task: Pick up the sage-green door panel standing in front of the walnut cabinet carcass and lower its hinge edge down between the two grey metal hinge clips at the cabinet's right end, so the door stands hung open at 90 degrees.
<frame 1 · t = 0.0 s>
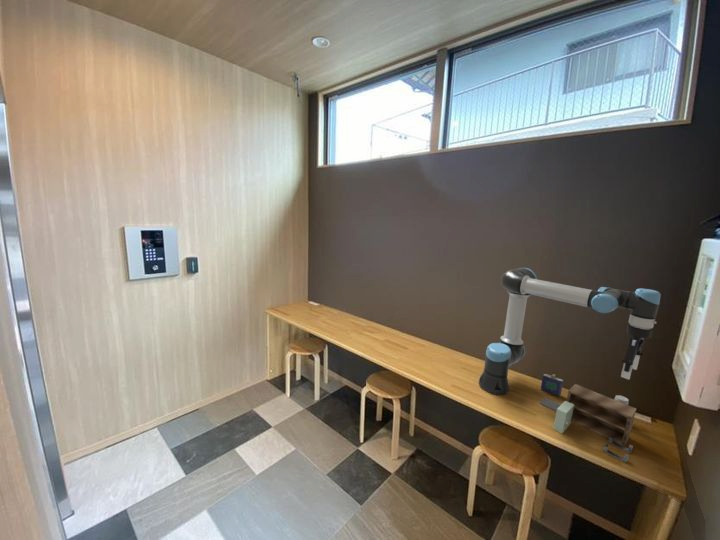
hand: (628, 373, 126), 28 cm above the table, fingers open, 13 cm apart
door: (561, 426, 132), on the table
hinge clips: (617, 451, 119), on the table
beverage can: (616, 421, 137), on the table
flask: (550, 392, 158), on the table
cabinet: (594, 426, 133), on the table
smartphone: (558, 409, 145), on the table
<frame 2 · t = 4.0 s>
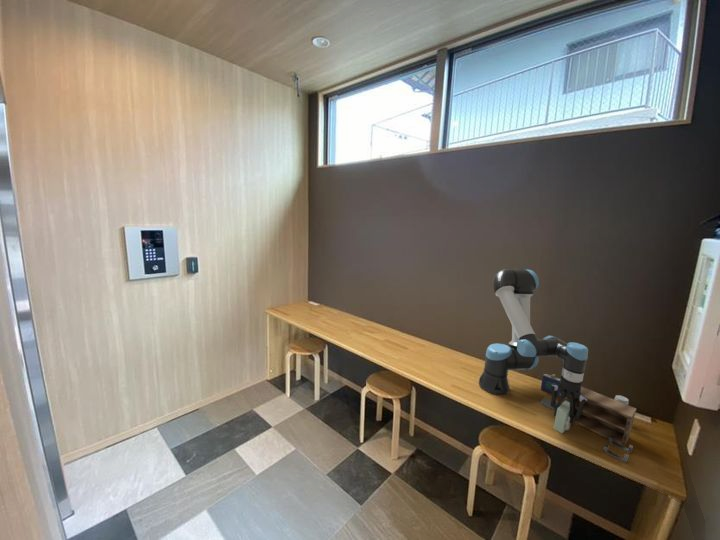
hand: (562, 425, 132), 0 cm above the table, fingers closed on door, 3 cm apart
door: (562, 426, 132), on the table, touching gripper
everything else where it was.
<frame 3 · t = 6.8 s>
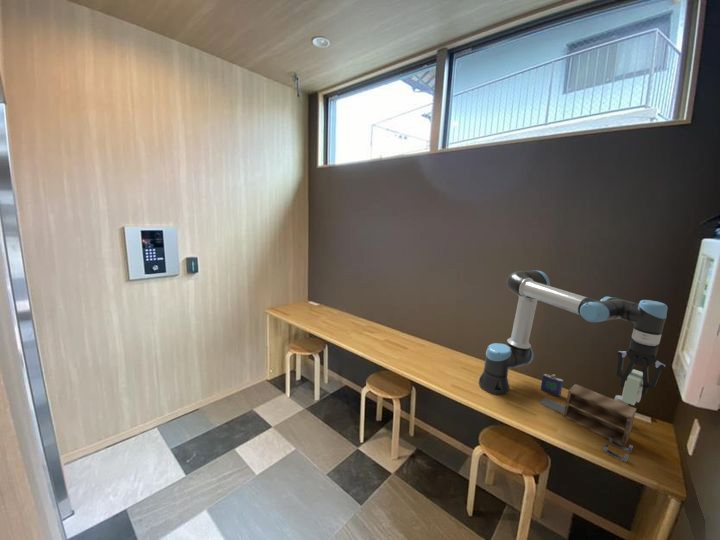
hand: (630, 397, 114), 24 cm above the table, fingers closed on door, 3 cm apart
door: (630, 398, 114), point 24 cm above the table, touching gripper
everything else where it was.
when the fingers open (2 cm above the table, at t = 9.7 s): door stays where it is, resting on hinge clips.
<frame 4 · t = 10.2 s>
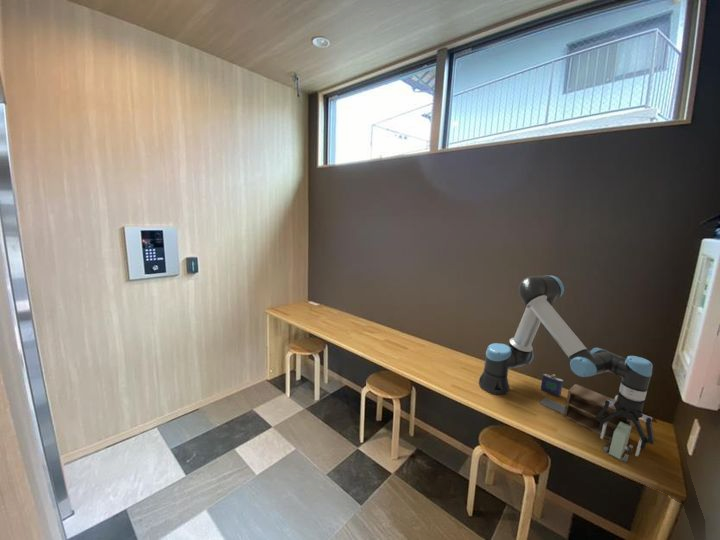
hand: (619, 445, 119), 3 cm above the table, fingers open, 10 cm apart
door: (617, 450, 119), resting on hinge clips
everything else where it was.
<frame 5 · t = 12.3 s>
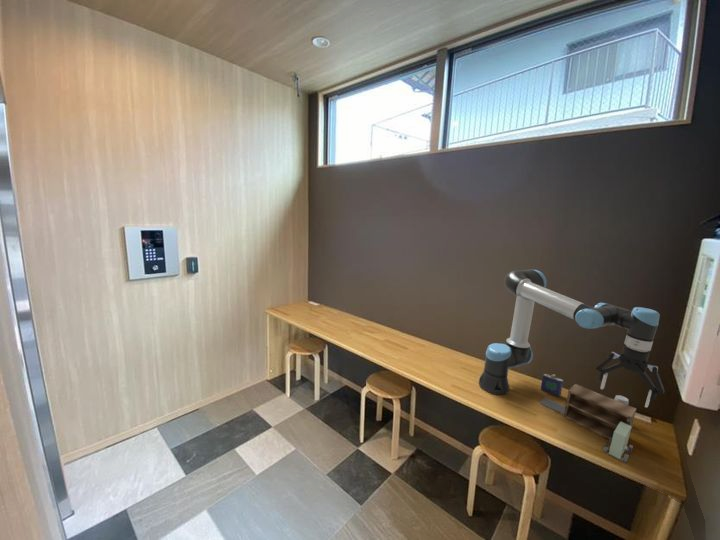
hand: (623, 396, 117), 23 cm above the table, fingers open, 13 cm apart
nothing on the table moved.
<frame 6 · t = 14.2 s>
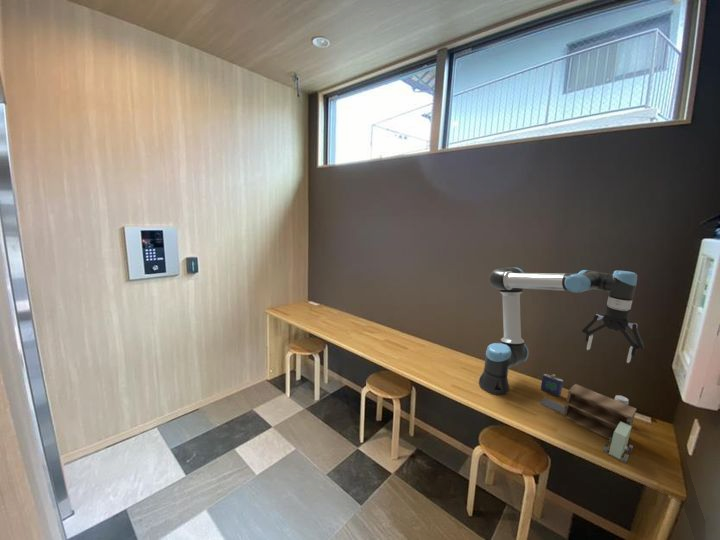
hand: (607, 355, 127), 35 cm above the table, fingers open, 13 cm apart
nothing on the table moved.
at the end: door tilted 0°; the gripper is holding nothing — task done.
